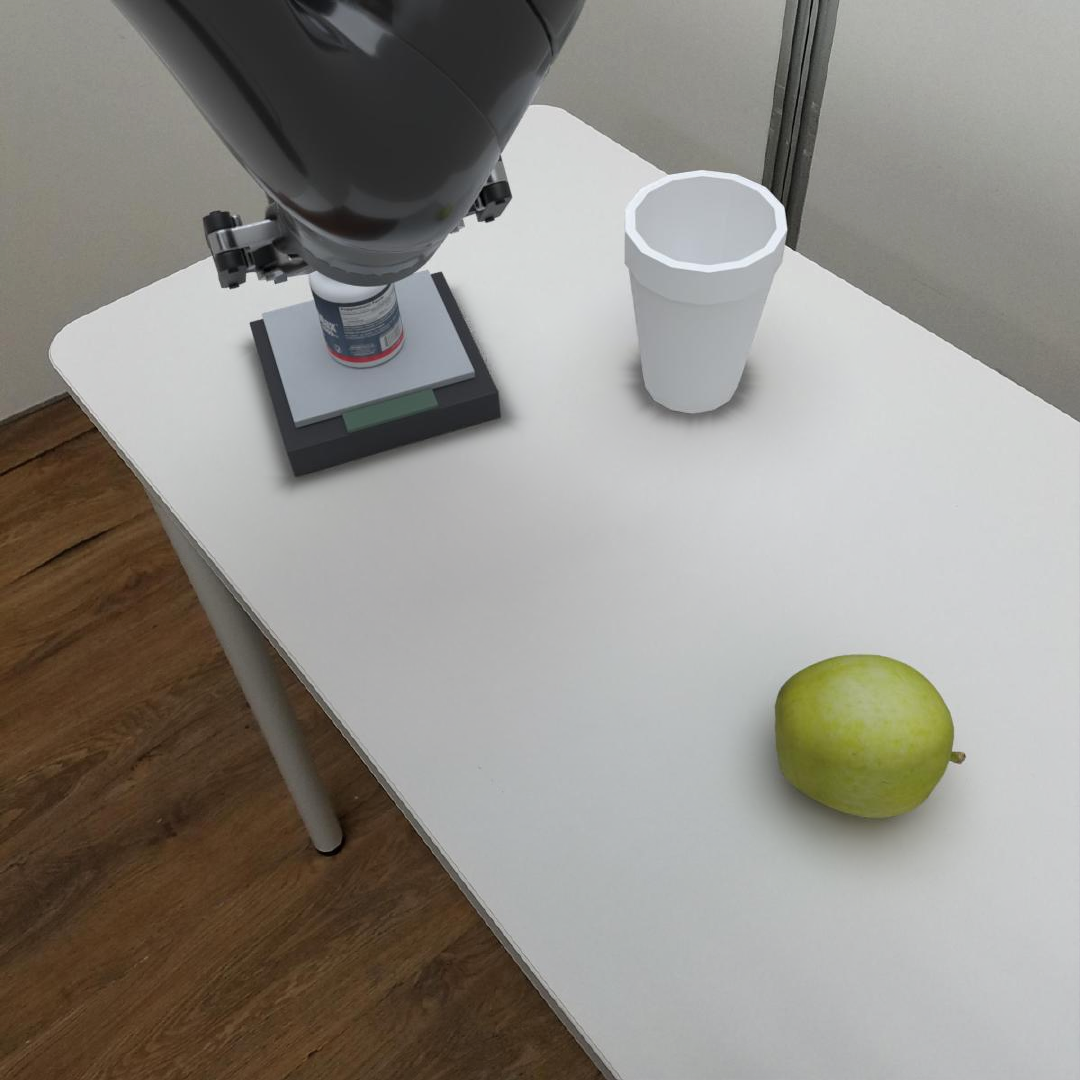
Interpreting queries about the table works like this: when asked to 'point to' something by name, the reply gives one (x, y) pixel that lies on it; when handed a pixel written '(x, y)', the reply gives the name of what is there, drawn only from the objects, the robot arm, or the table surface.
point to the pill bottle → (358, 321)
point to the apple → (863, 735)
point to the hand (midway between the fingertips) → (352, 243)
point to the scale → (374, 380)
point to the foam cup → (700, 281)
